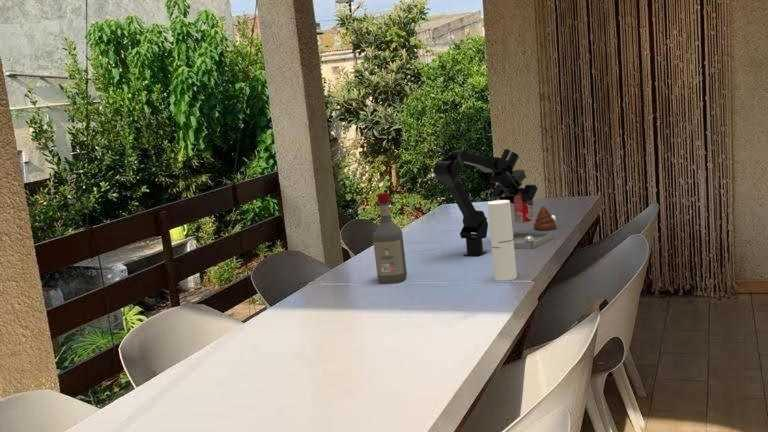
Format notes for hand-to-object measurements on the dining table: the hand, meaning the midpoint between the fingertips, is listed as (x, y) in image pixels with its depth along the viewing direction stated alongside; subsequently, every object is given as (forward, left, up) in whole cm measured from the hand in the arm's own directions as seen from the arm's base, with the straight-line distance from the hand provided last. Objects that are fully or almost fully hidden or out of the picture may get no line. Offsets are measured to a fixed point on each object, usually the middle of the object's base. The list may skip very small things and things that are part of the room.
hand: (525, 204), depth 334 cm
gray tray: (-11, -4, -13) cm, 17 cm away
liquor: (-70, +16, -13) cm, 73 cm away
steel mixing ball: (-16, -9, -12) cm, 22 cm away
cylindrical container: (-60, -22, -13) cm, 65 cm away
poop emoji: (+15, 0, -13) cm, 20 cm away
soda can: (-1, +1, -7) cm, 7 cm away
